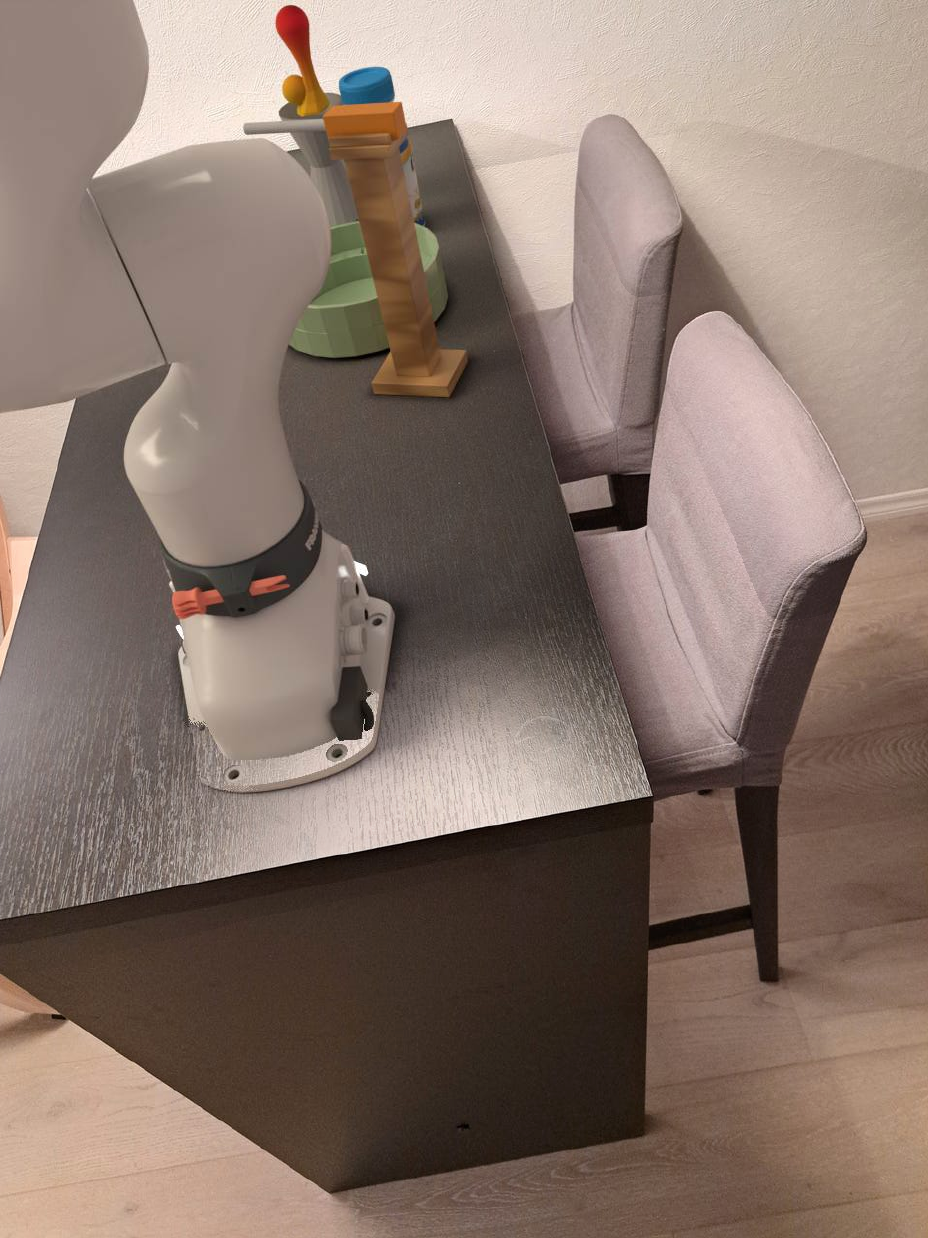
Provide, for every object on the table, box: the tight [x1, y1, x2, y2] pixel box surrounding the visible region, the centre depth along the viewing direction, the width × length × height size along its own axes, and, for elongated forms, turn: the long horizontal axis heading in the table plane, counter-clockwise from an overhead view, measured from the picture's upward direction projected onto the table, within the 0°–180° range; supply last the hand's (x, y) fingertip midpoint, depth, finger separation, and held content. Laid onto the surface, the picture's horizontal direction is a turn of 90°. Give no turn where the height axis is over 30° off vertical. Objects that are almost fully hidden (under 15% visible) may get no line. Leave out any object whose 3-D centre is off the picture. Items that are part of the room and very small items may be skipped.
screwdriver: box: [242, 101, 408, 140], centre depth 88 cm, size 16×2×2 cm, turn 73°
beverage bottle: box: [338, 66, 426, 227], centre depth 125 cm, size 8×8×20 cm
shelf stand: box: [328, 123, 469, 398], centre depth 96 cm, size 9×7×27 cm
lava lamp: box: [274, 4, 359, 228], centre depth 126 cm, size 9×9×35 cm
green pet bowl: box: [288, 220, 449, 359], centre depth 115 cm, size 21×21×7 cm
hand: (36, 67), depth 87 cm, fingers open, 8 cm apart
